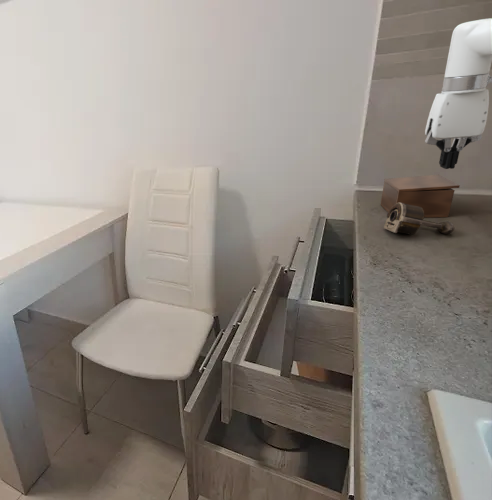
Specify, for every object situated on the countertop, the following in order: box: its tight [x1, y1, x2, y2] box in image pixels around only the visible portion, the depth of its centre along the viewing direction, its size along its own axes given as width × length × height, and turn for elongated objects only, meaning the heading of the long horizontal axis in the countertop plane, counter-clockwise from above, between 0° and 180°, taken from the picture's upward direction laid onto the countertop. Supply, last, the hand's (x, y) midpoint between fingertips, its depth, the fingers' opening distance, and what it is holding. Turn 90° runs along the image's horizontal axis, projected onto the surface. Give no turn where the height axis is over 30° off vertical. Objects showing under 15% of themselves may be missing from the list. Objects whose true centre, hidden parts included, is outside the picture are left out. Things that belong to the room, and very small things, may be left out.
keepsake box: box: [379, 181, 455, 219], centre depth 93 cm, size 11×10×7 cm
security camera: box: [383, 202, 456, 235], centre depth 81 cm, size 7×13×10 cm
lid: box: [384, 174, 461, 192], centre depth 91 cm, size 12×10×1 cm
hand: (446, 167), depth 88 cm, fingers closed
